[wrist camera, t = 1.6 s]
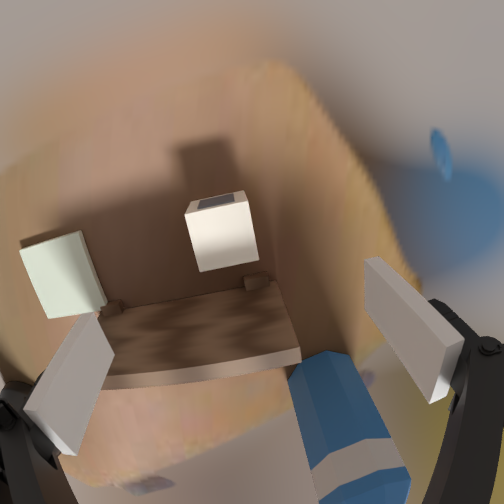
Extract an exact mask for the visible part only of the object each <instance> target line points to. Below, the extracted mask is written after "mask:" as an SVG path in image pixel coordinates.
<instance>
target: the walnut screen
mask: <svg viewBox="0 0 504 504" xmlns="http://www.w3.org/2000/svg"><path fill="white" fill-rule="evenodd" d="M243 277H244V283H245V287H241V288H236V289H231V290H226V291H220V292H215V293H210V294H205V295H200V296H194V297H189V298H184V299H178V300H173V301H167V302H162V303H156V304H150V305H145V306H139V307H133V308H127V309H124V306H123V304H122V301H121V300H116V301H110V302H108V303H107V304H106V306H101V307H100V309H101V311H102V313H101V314H100V315H99V317H98V319H97V320H98V322H99V324H100V326H101V328H102V331H103V333H104V335H105V337H106V339H107V341H108V343H109V344H110V346H111V348H112V350H113V352H114V354H115V356H114V358H113V360H112V363H111V365H110V368H109V370H108V372H107V375H106V377H105V380H104V382H103V385H102V388H101V390H114V389H131V388H145V387H156V386H166V385H175V384H184V383H192V382H200V381H207V380H214V379H220V378H226V377H232V376H238V375H244V374H249V373H255V372H260V371H265V370H270V369H275V368H279V367H284V366H289V365H293V364H297V363H302V359H301V351H300V345H299V343H298V340H297V337H296V334H295V331H294V329H293V326H292V323H291V320H290V317H289V314H288V312H287V309H286V306H285V303H284V301H283V298H282V295H281V292H280V289H279V287H278V284H277V281H276V280H275V281H270V282H269V278H268V274H267V271H266V272H261V273H257V274H252V275H247V276H243Z"/></svg>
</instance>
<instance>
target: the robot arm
mask: <svg viewBox="0 0 504 504" xmlns="http://www.w3.org/2000/svg"><path fill="white" fill-rule="evenodd" d="M364 273H365V310H366V312H367V313H368V315H369V316H370V317H371V319H372V320H373V322H374V323H375V324H376V326H377V327H378V329H379V330H380V331H381V333H382V334H383V336H384V337H385V339H386V340H387V341H388V343H389V344H390V346H391V347H392V349H393V350H394V352H395V353H396V355H397V356H398V357H399V359H400V360H401V362H402V363H403V365H404V366H405V368H406V369H407V371H408V372H409V374H410V375H411V377H412V378H413V380H414V381H415V383H416V384H417V386H418V387H419V389H420V390H421V392H422V394H423V395H424V397H425V398H426V400H427V401H428V403H429V404H430V403H432V402H435V401H437V400H439V399H441V398H443V397H445V396H446V395H447V392H448V389H449V387H450V386H451V387H452V388H453V390H454V391H455V394H454V396H453V399H452V401H451V403H450V406H449V408H448V410H450V414H449V419H448V423H447V428H446V431H445V435H444V439H443V443H442V446H441V450H440V454H439V457H438V460H437V463H436V466H435V469H434V472H433V475H432V478H431V481H430V484H429V486H428V489H427V492H426V494H425V497H424V499H423V502H422V504H489V503H490V498H491V495H492V491H493V486H494V481H495V477H496V472H497V466H498V461H499V455H500V448H501V440H502V432H503V427H504V344H501V342H500V341H498V340H497V339H495V338H493V337H489V336H483V337H479V336H478V335H477V334H476V333H475V332H474V331H473V330H472V329H471V328H470V327H469V326H468V325H467V324H466V323H465V322H464V321H463V320H462V319H461V318H459V317H458V315H457V314H456V313H455V312H453V310H451V309H450V308H449V307H448V306H447V305H446V304H445V303H443V302H441V301H438V300H436V299H432V300H429V301H427V300H426V299H424V297H423V296H421V295H420V294H419V293H418V292H417V291H416V290H415V289H414V288H413V287H412V286H411V285H410V284H409V283H408V282H407V281H406V280H404V279H403V278H402V277H401V276H400V275H399V274H398V273H397V272H396V271H395V270H394V269H392V268H391V267H390V266H389V265H388V264H387V263H386V262H385V261H384V260H382V259H381V258H380V257H379V256H377V257H373V258H369V259H364ZM114 356H115V354H114V352H113V350H112V348H111V346H110V344H109V343H108V341H107V339H106V337H105V335H104V333H103V331H102V328H101V326H100V324H99V322H98V320H97V318H96V316H95V314H94V312H88V313H82V314H81V315H80V317H79V318H78V320H77V321H76V323H75V324H74V326H73V327H72V329H71V330H70V332H69V333H68V335H67V336H66V338H65V339H64V341H63V342H62V344H61V345H60V347H59V349H58V350H57V352H56V353H55V355H54V357H53V358H52V360H51V361H50V363H49V365H48V366H47V368H46V369H45V370H44V371H43V372H42V373H41V374H40V375H39V376H38V378H37V380H36V381H35V383H34V386H33V387H32V386H30V385H27V384H25V383H21V382H17V381H11V382H8V383H7V384H6V385H5V386H4V388H3V389H2V391H1V393H0V504H78V502H77V500H76V498H75V496H74V494H73V492H72V490H71V487H70V485H69V483H68V481H67V479H66V476H65V474H64V472H63V469H62V467H61V464H60V462H59V459H58V456H59V455H60V453H61V452H62V453H63V454H67V455H74V456H77V455H78V452H79V449H80V446H81V443H82V440H83V437H84V434H85V431H86V428H87V425H88V422H89V420H90V417H91V414H92V411H93V409H94V406H95V403H96V401H97V398H98V395H99V393H100V390H101V388H102V385H103V382H104V380H105V377H106V375H107V372H108V370H109V368H110V365H111V363H112V360H113V358H114Z"/></svg>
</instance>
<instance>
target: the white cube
mask: <svg viewBox="0 0 504 504" xmlns="http://www.w3.org/2000/svg"><path fill="white" fill-rule="evenodd" d="M185 218H186V222H187V226H188V230H189V234H190V238H191V242H192V245H193V249H194V253H195V257H196V260H197V264H198V268H199V271H200V272H203V271H208V270H213V269H218V268H223V267H228V266H233V265H238V264H243V263H248V262H252V261H257V260H259V256H258V251H257V245H256V240H255V235H254V230H253V224H252V219H251V214H250V209H249V204H248V200H247V197H246V194H245V192H244V190H243V191H238V192H233V193H228V194H223V195H218V196H214V197H209V198H205V199H200V200H196V201H191V203H190V205H189V207H188V208H187V210H186V212H185Z"/></svg>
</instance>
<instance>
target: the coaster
mask: <svg viewBox="0 0 504 504" xmlns="http://www.w3.org/2000/svg"><path fill="white" fill-rule="evenodd" d="M19 251H20V254H21V257H22V260H23V262H24V265H25V267H26V270H27V272H28V275H29V277H30V280H31V282H32V284H33V287H34V289H35V291H36V293H37V296H38V298H39V300H40V302H41V304H42V306H43V309H44V311H45V313H46V315H47V317H48V319H50V318H57V317H63V316H70V315H76V314H82V313H88V312H95V311H101V309H100V307H101V306H106V304H107V303H108V301H107V299H106V296H105V294H104V291H103V289H102V287H101V284H100V281H99V279H98V276H97V274H96V271H95V268H94V266H93V263H92V260H91V257H90V255H89V252H88V249H87V246H86V243H85V240H84V237H83V234H82V231H81V230H79V231H76V232H72V233H69V234H66V235H62V236H59V237H56V238H52V239H49V240H46V241H43V242H40V243H37V244H34V245H30V246H27V247H24V248H22V249H21V250H19Z"/></svg>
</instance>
